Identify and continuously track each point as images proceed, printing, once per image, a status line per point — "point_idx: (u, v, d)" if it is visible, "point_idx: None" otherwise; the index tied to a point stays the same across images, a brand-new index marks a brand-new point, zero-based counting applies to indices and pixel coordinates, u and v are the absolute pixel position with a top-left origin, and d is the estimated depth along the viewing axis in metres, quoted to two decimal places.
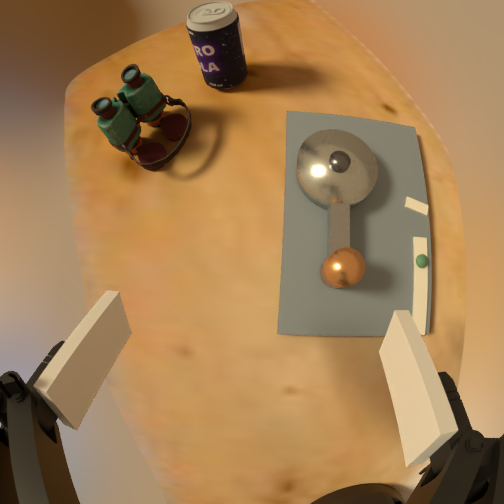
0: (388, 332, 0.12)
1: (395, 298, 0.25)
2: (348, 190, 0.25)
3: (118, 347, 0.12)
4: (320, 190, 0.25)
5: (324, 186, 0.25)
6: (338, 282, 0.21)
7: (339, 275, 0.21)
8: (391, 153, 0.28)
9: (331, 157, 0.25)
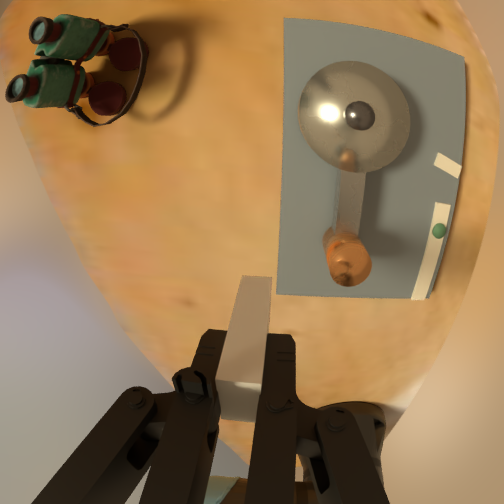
0: None
1: (402, 265, 0.24)
2: (367, 155, 0.18)
3: None
4: (329, 154, 0.18)
5: (335, 149, 0.18)
6: (339, 283, 0.19)
7: (341, 276, 0.19)
8: (429, 90, 0.17)
9: (348, 111, 0.16)
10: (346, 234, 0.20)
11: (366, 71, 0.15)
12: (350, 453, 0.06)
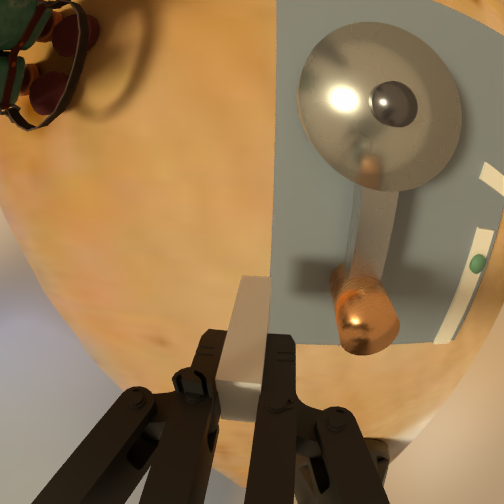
0: None
1: (428, 306, 0.17)
2: (402, 165, 0.11)
3: None
4: (346, 163, 0.11)
5: (356, 155, 0.11)
6: (351, 352, 0.13)
7: (355, 344, 0.12)
8: (475, 77, 0.10)
9: (378, 96, 0.09)
10: (365, 280, 0.13)
11: (401, 39, 0.08)
12: (349, 453, 0.06)
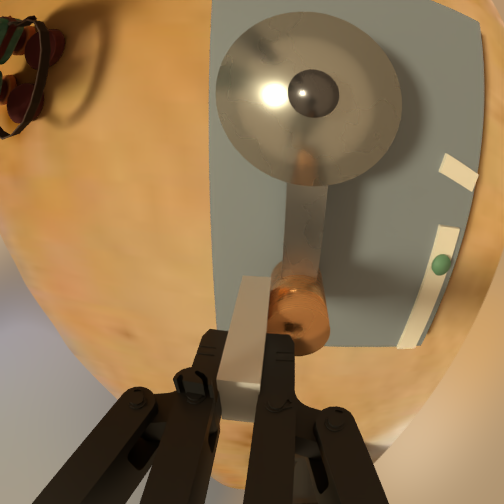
0: None
1: (386, 308, 0.18)
2: (328, 158, 0.11)
3: None
4: (266, 159, 0.12)
5: (275, 150, 0.11)
6: None
7: None
8: (432, 62, 0.10)
9: (291, 87, 0.09)
10: (297, 279, 0.14)
11: (325, 25, 0.09)
12: (349, 454, 0.06)
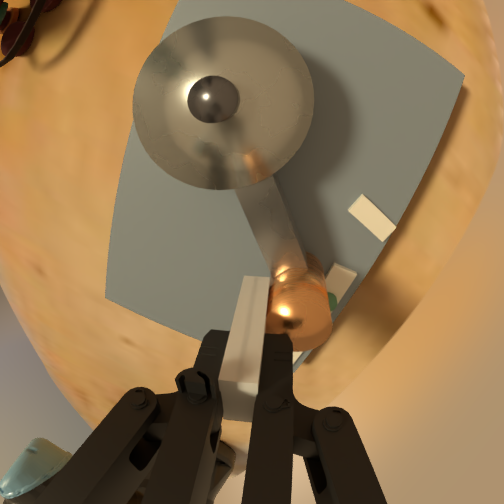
0: None
1: None
2: (259, 149, 0.11)
3: None
4: (205, 176, 0.12)
5: (209, 165, 0.12)
6: None
7: None
8: (382, 98, 0.12)
9: (191, 104, 0.10)
10: (286, 274, 0.14)
11: (199, 32, 0.09)
12: (346, 454, 0.06)
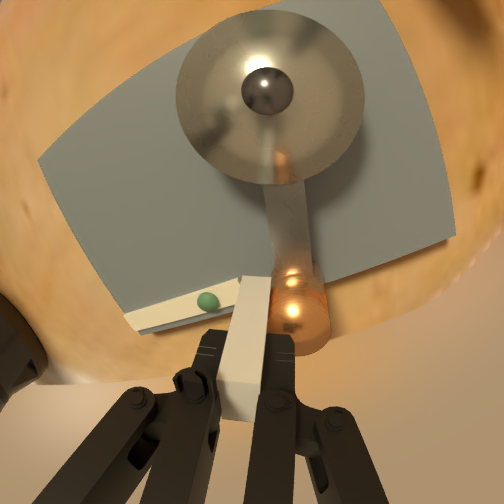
0: None
1: (142, 279, 0.19)
2: (298, 152, 0.11)
3: None
4: (237, 165, 0.12)
5: (244, 154, 0.12)
6: None
7: None
8: (382, 197, 0.14)
9: (244, 90, 0.10)
10: (292, 278, 0.14)
11: (268, 21, 0.09)
12: (349, 454, 0.06)
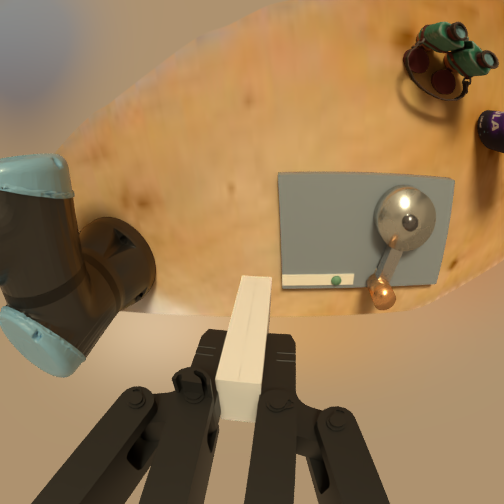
0: None
1: (308, 260, 0.38)
2: (406, 242, 0.32)
3: None
4: (388, 239, 0.32)
5: (392, 237, 0.32)
6: (376, 307, 0.34)
7: (378, 304, 0.33)
8: (416, 261, 0.36)
9: (406, 220, 0.30)
10: (384, 281, 0.34)
11: (421, 197, 0.29)
12: (350, 453, 0.06)
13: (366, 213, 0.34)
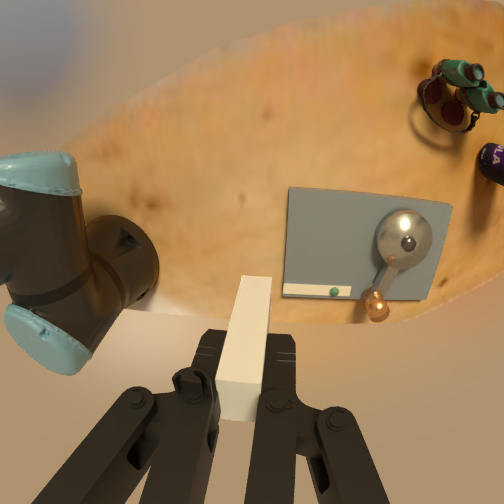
0: None
1: (310, 272, 0.40)
2: (403, 261, 0.35)
3: None
4: (387, 257, 0.35)
5: (391, 255, 0.34)
6: (371, 319, 0.36)
7: (373, 317, 0.36)
8: (410, 278, 0.39)
9: (405, 242, 0.33)
10: (379, 295, 0.37)
11: (421, 221, 0.32)
12: (349, 453, 0.06)
13: (368, 231, 0.36)
